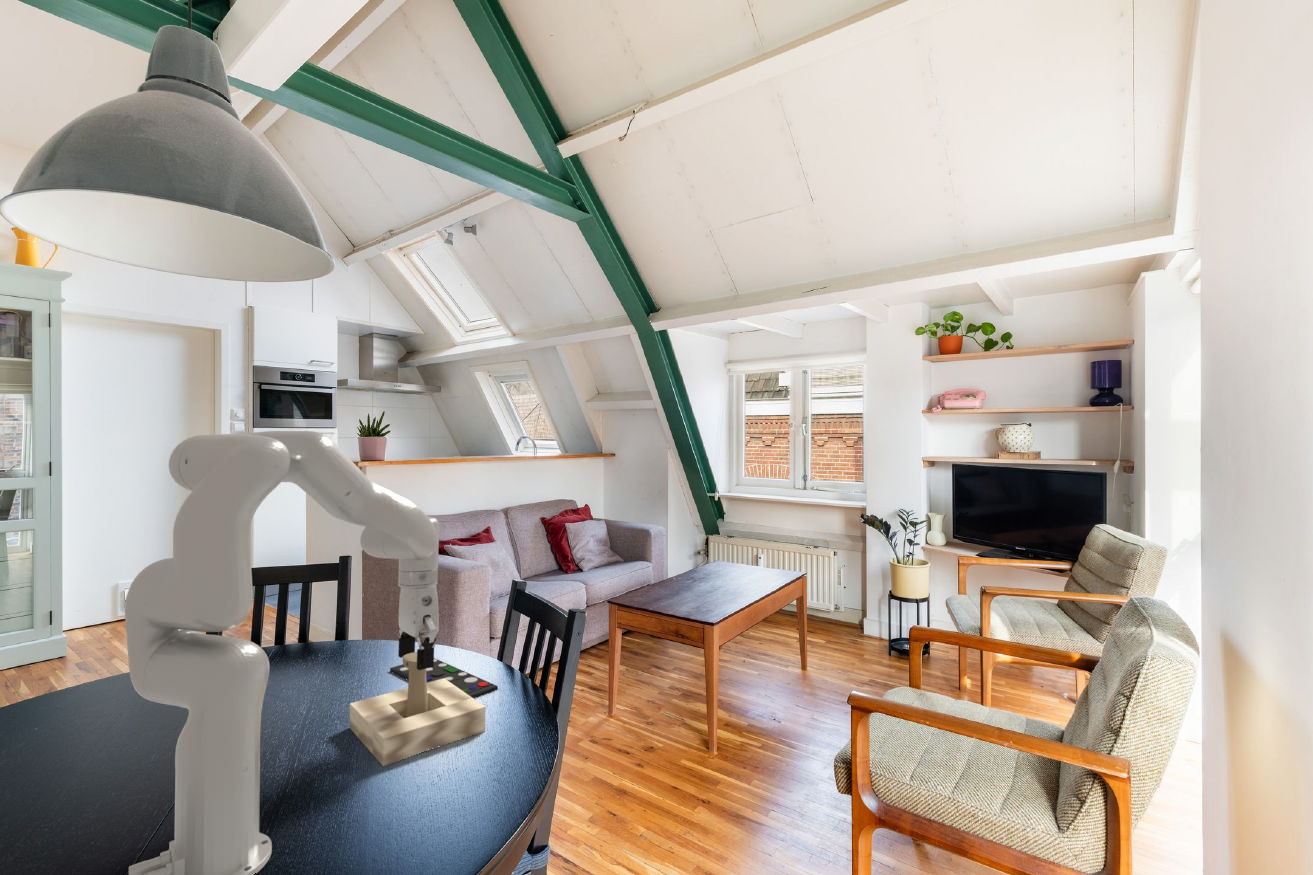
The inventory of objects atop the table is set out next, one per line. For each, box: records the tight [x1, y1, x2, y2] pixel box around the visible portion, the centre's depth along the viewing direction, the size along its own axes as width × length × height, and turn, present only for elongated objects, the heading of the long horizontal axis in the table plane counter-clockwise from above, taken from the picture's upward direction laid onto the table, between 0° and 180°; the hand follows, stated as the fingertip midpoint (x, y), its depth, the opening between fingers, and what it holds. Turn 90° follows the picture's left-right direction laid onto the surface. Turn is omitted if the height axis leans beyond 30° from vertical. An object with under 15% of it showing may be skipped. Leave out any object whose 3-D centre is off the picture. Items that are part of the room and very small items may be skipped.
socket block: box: [349, 678, 486, 767], centre depth 124 cm, size 20×20×5 cm
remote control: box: [389, 657, 499, 699], centre depth 150 cm, size 11×30×2 cm, turn 50°
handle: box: [402, 651, 428, 717], centre depth 124 cm, size 5×6×15 cm
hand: (415, 661), depth 124 cm, fingers open, 9 cm apart
